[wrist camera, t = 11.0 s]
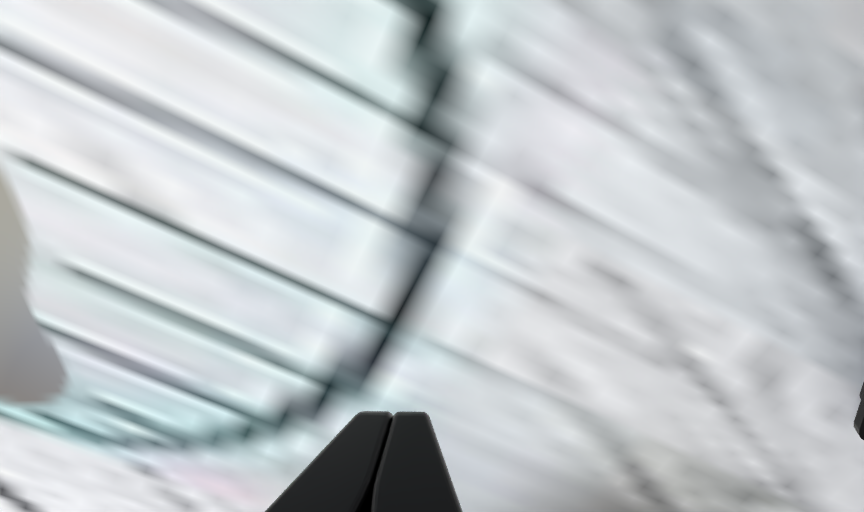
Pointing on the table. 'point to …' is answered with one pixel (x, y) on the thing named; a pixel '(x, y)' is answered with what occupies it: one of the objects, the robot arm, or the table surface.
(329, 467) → the robot arm
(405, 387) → the table surface
